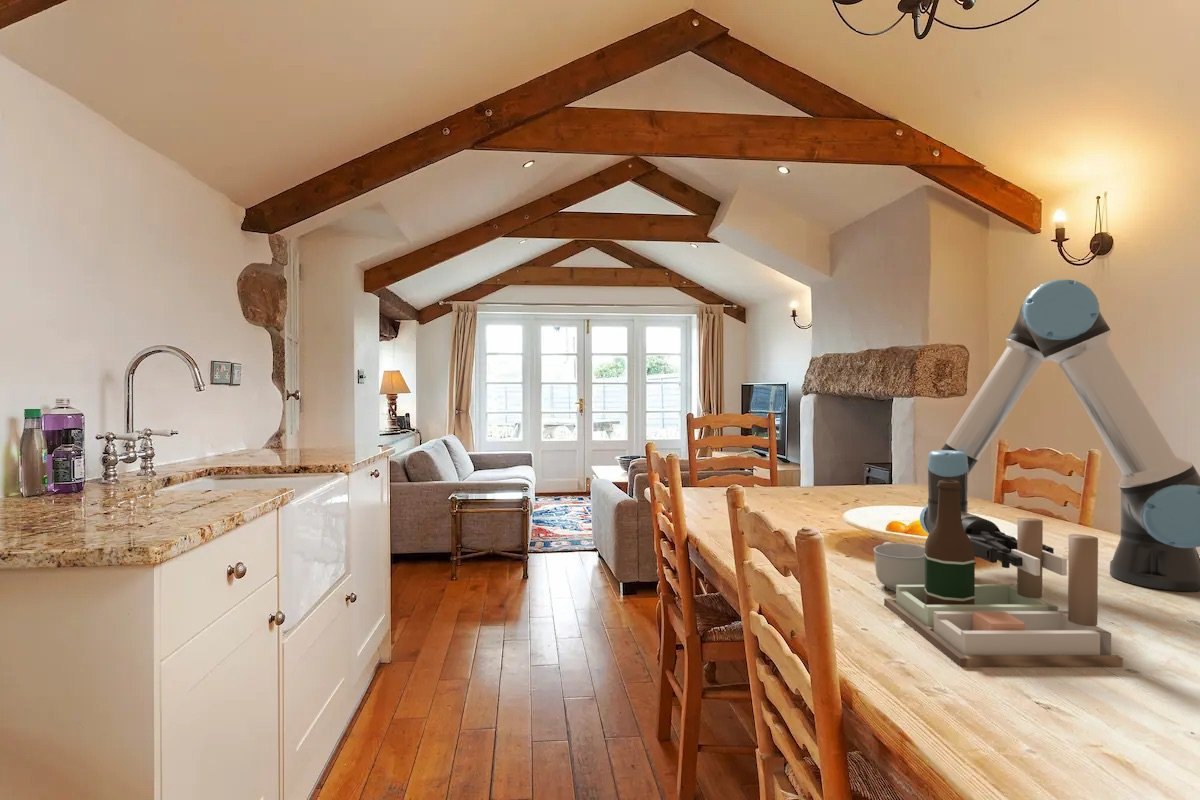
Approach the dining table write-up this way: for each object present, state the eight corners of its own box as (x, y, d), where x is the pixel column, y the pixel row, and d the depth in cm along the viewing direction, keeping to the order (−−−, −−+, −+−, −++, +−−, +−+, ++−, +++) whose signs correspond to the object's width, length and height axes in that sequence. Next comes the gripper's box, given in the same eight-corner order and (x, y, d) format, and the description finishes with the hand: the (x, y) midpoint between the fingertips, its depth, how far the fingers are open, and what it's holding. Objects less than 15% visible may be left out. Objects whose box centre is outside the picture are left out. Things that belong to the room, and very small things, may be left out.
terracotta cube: (1005, 643, 102) (1005, 611, 102) (1024, 656, 97) (1025, 623, 97) (972, 643, 103) (972, 611, 102) (990, 656, 98) (990, 623, 97)
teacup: (941, 598, 124) (941, 556, 123) (879, 595, 126) (880, 554, 126) (920, 577, 137) (920, 539, 137) (865, 574, 139) (865, 537, 139)
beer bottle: (914, 612, 116) (914, 478, 116) (956, 610, 117) (956, 477, 116) (941, 628, 108) (941, 484, 108) (985, 626, 109) (985, 483, 109)
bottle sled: (1018, 606, 118) (1018, 512, 118) (1064, 631, 106) (1064, 527, 106) (896, 606, 119) (896, 513, 118) (927, 631, 107) (927, 528, 106)
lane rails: (1010, 604, 120) (1010, 598, 120) (1122, 666, 93) (1122, 658, 93) (884, 604, 120) (884, 598, 120) (960, 666, 94) (960, 658, 94)
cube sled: (1072, 635, 104) (1073, 529, 104) (1118, 660, 95) (1119, 544, 95) (933, 636, 105) (933, 530, 104) (965, 660, 95) (965, 545, 95)
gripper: (1014, 553, 130) (1102, 590, 107) (930, 553, 130) (999, 590, 107) (1014, 515, 130) (1103, 544, 106) (930, 516, 130) (999, 544, 107)
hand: (1050, 567), depth 107 cm, fingers closed on bottle sled, 4 cm apart
